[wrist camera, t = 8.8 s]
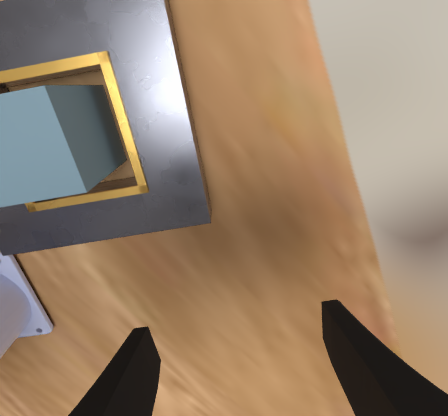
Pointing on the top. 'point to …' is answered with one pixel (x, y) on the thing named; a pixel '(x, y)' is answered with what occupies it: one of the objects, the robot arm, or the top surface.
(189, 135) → the square hole plate
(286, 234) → the top surface
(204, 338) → the top surface
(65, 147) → the peg
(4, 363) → the top surface
